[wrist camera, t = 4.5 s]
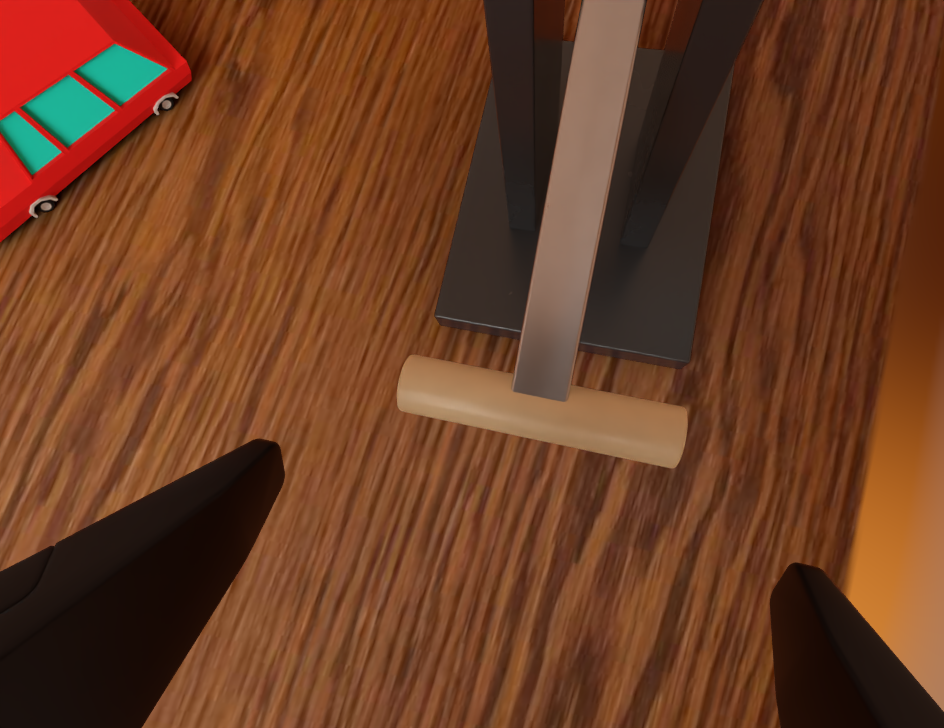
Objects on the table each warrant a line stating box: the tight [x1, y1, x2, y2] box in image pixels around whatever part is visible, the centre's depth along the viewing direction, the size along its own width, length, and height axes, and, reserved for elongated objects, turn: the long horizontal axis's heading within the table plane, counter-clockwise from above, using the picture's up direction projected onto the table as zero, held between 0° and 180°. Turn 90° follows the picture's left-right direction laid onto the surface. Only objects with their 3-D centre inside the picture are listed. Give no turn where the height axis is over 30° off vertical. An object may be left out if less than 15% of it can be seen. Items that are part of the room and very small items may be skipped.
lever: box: [397, 0, 688, 468], centre depth 10 cm, size 12×6×2 cm, turn 168°
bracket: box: [434, 0, 764, 369], centre depth 15 cm, size 12×9×14 cm
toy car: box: [0, 0, 192, 242], centre depth 23 cm, size 7×12×4 cm, turn 132°
